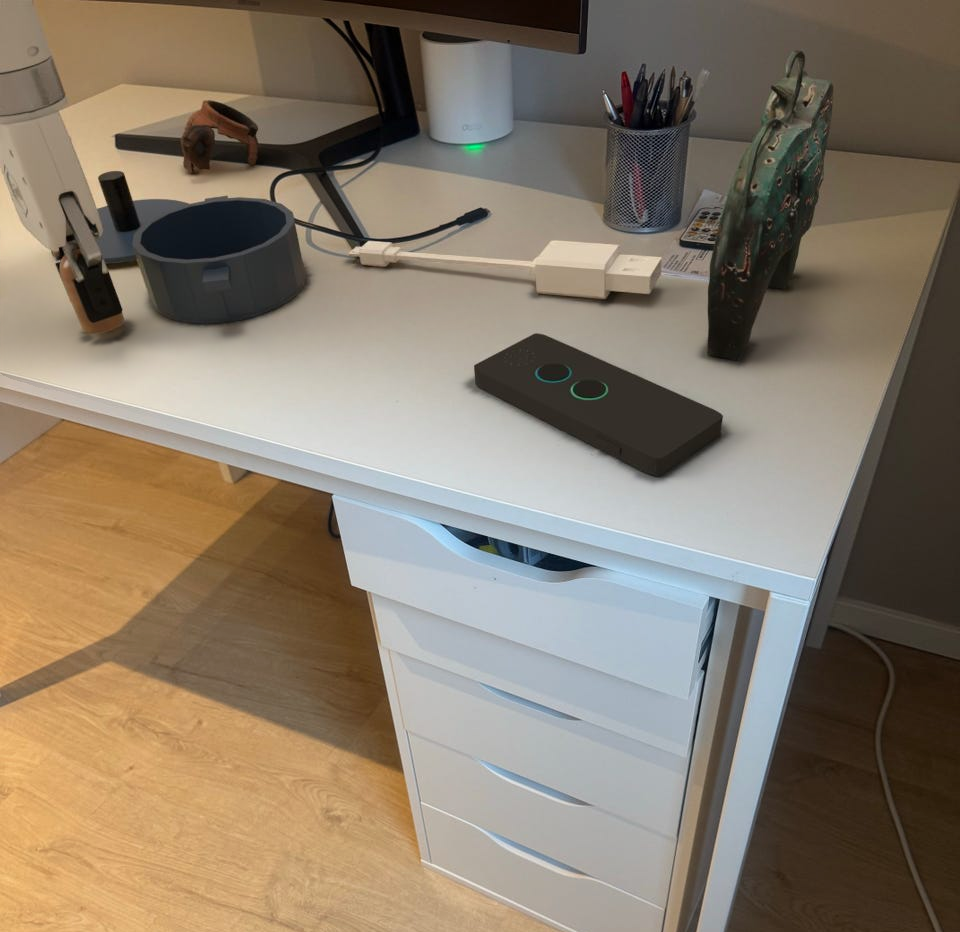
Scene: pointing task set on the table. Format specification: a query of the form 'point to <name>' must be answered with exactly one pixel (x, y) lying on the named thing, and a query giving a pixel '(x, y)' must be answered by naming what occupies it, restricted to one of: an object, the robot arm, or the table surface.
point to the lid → (124, 217)
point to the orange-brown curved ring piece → (202, 137)
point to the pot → (220, 259)
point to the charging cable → (549, 267)
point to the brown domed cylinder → (84, 322)
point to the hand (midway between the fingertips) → (96, 306)
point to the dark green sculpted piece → (768, 207)
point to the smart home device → (599, 403)
